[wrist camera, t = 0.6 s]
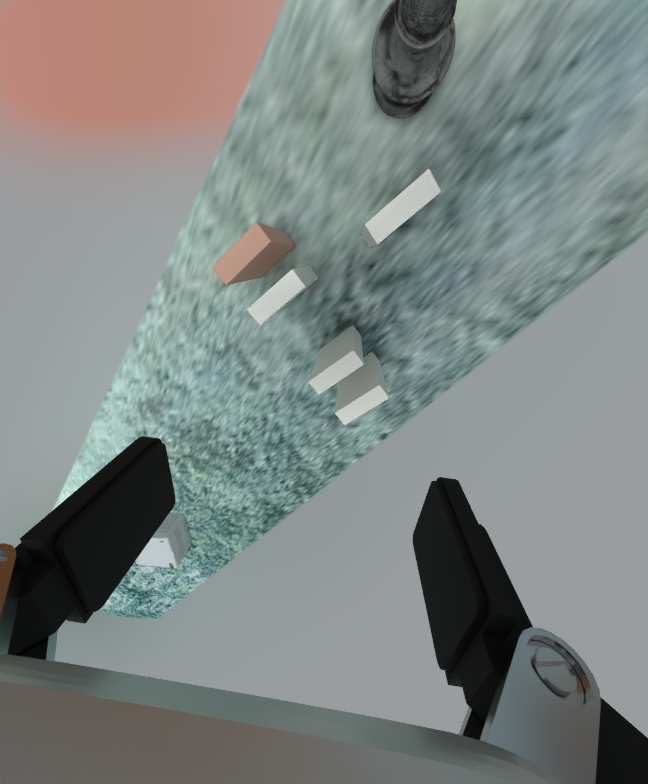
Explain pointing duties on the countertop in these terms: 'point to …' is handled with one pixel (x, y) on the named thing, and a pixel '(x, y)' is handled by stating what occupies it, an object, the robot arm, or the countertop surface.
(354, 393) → the domino
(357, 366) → the domino
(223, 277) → the end domino
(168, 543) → the small box
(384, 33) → the dark grey ornamental finial
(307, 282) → the domino
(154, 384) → the countertop surface
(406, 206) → the domino
